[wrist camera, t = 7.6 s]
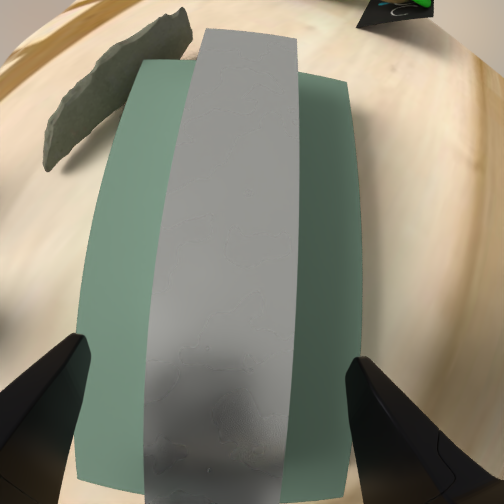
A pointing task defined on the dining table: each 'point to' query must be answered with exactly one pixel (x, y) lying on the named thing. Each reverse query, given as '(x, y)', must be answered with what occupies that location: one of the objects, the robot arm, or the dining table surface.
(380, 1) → the toy
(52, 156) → the stone
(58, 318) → the dining table surface
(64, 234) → the dining table surface
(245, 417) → the rail
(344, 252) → the green rectangular slab
